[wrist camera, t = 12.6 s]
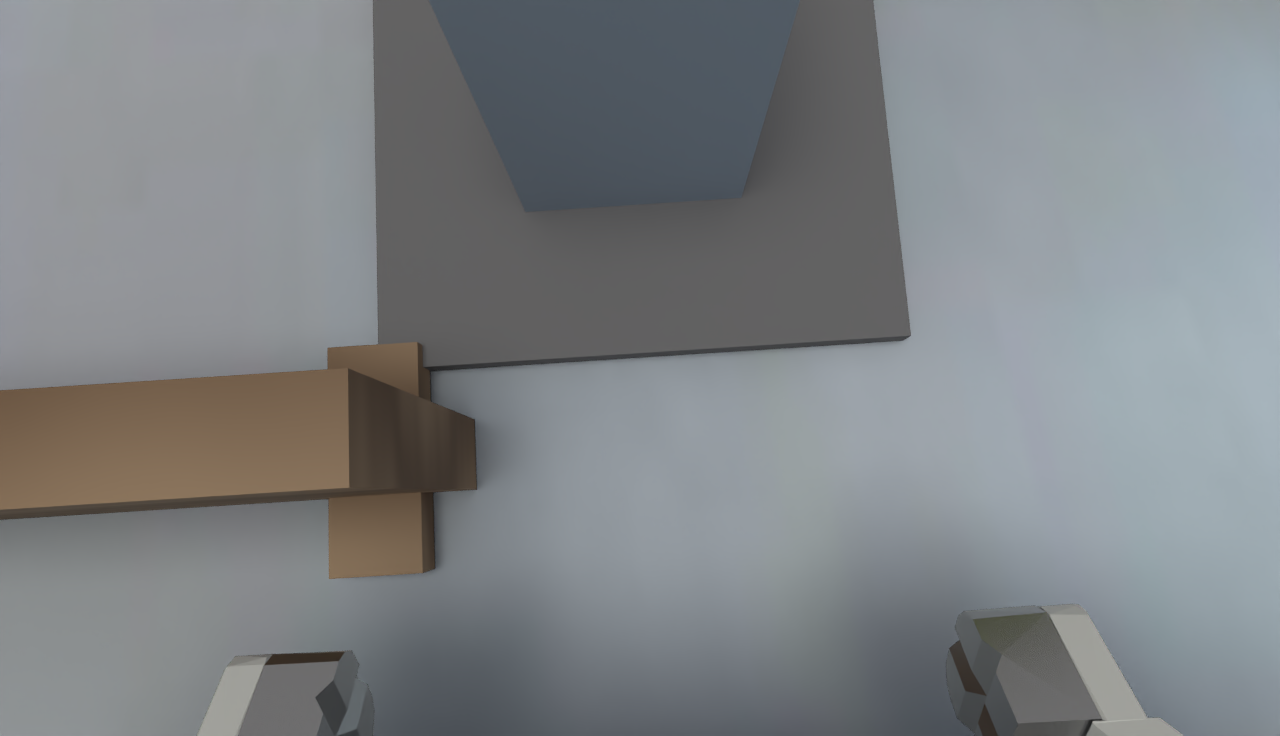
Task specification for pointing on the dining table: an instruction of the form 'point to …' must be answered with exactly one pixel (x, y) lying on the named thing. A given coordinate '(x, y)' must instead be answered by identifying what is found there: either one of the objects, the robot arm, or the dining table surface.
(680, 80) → the letter block
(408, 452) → the screen
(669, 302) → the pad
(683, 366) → the dining table surface
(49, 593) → the dining table surface
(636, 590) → the dining table surface
